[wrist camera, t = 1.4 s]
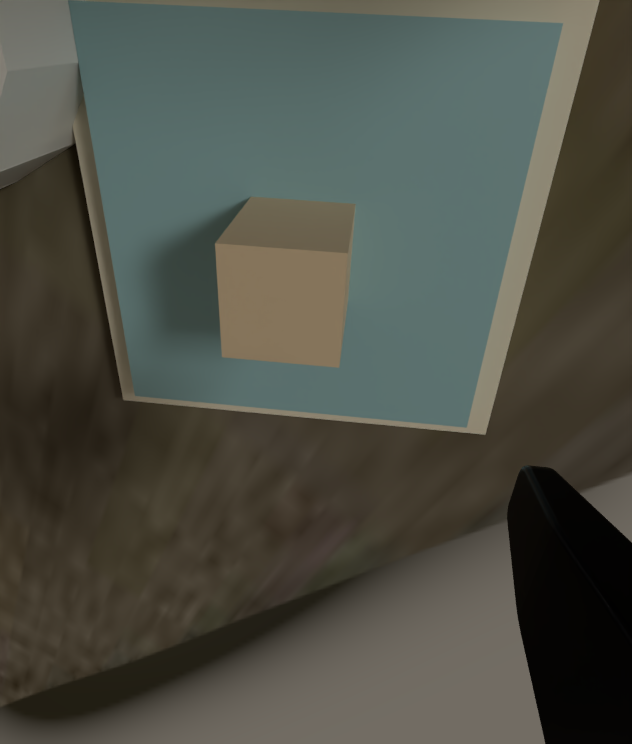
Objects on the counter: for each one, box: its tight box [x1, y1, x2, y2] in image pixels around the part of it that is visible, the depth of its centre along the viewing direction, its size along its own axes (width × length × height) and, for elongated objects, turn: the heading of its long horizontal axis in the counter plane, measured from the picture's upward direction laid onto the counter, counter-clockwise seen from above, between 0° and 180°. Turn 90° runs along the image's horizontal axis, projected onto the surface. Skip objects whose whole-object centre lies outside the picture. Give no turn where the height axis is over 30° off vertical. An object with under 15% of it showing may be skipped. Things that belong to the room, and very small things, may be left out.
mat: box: [73, 0, 599, 434], centre depth 18 cm, size 14×14×1 cm
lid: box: [68, 0, 563, 428], centre depth 15 cm, size 12×12×5 cm
